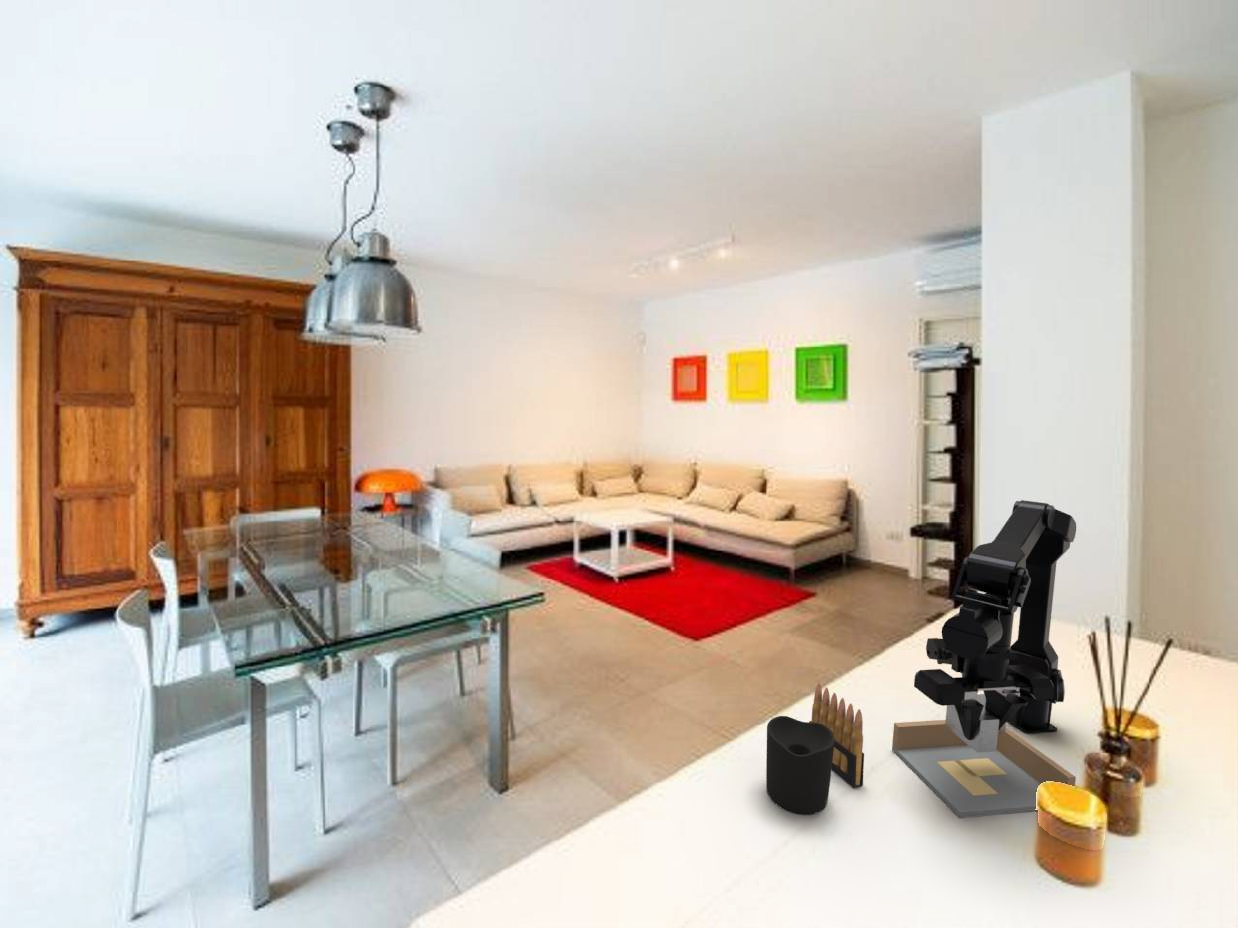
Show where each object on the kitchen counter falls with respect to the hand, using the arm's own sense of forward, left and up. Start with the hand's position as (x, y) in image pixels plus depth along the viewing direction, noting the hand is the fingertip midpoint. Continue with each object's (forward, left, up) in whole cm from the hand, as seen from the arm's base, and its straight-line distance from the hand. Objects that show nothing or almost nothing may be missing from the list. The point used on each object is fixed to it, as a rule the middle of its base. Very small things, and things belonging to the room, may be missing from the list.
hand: (977, 737), depth 89 cm
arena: (-2, -2, -8) cm, 9 cm away
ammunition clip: (+19, -7, -8) cm, 22 cm away
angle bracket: (-2, -2, -1) cm, 3 cm away
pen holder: (+28, -1, -8) cm, 29 cm away
